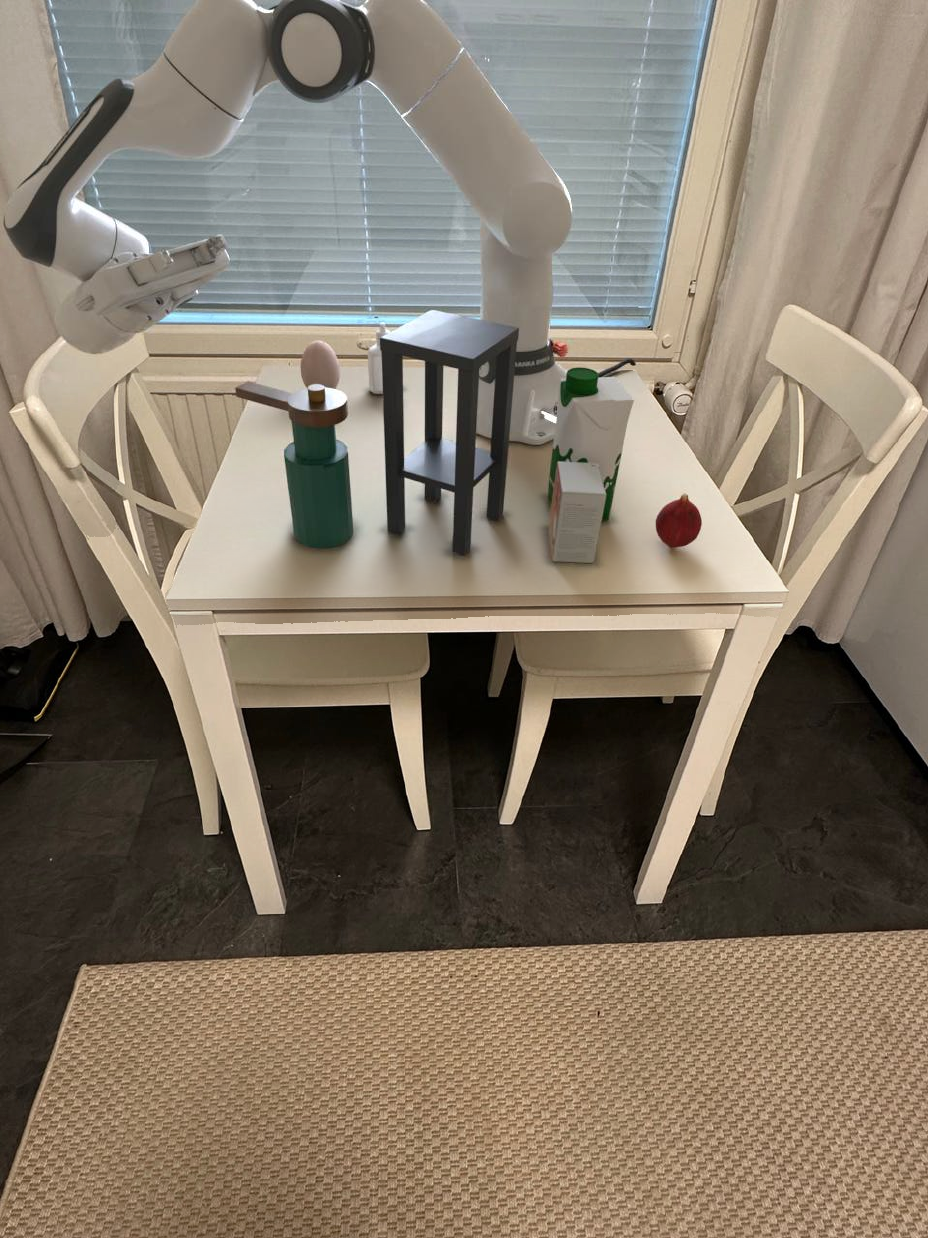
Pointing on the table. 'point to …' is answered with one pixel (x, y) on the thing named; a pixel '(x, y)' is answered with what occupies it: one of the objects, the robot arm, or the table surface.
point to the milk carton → (591, 426)
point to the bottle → (319, 487)
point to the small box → (576, 512)
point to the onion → (678, 522)
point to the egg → (320, 365)
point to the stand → (438, 458)
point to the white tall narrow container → (376, 362)
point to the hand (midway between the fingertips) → (194, 248)
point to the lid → (301, 403)
